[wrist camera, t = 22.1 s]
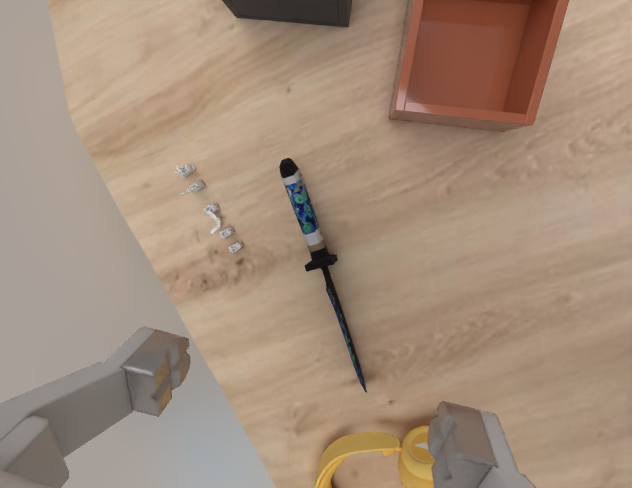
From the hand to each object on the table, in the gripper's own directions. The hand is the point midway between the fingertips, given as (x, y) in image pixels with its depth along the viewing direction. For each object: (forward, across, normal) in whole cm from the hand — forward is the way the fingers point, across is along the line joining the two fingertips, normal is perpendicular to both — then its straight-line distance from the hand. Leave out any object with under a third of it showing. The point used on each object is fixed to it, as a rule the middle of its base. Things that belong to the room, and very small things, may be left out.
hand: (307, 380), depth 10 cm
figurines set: (+26, +17, +7) cm, 32 cm away
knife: (+25, +1, +13) cm, 28 cm away
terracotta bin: (+30, -7, -12) cm, 33 cm away
